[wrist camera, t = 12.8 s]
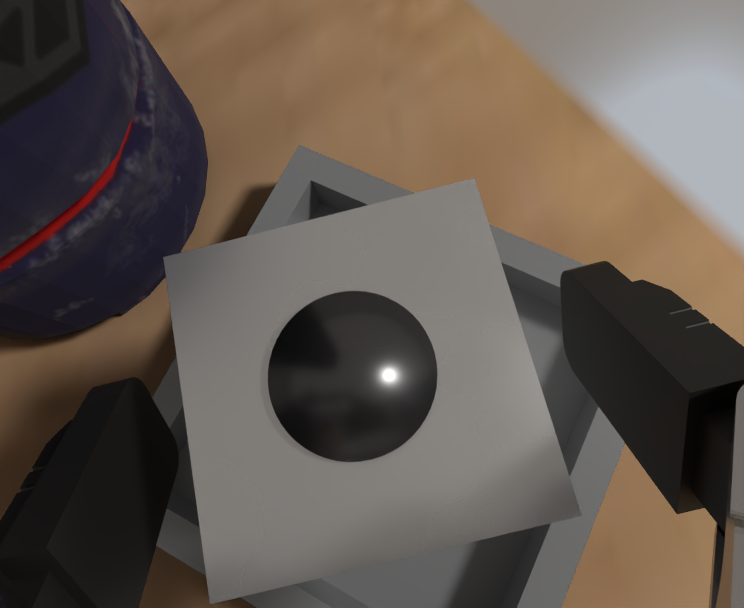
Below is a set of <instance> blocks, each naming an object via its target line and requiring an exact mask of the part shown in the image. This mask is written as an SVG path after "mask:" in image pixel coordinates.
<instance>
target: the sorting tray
mask: <svg viewBox="0 0 744 608" xmlns="http://www.w3.org/2000/svg"><path fill="white" fill-rule="evenodd" d="M410 194H414V193H413V192H410V191H408V190H406V189H403V188H401V187H398V186H396V185H394V184H391V183H389V182H386V181H384V180H382V179H379V178H377V177H375V176H372V175H370V174H367V173H365V172H363V171H360V170H358V169H355V168H353V167H351V166H348V165H346V164H343V163H341V162H339V161H336V160H334V159H331V158H329V157H327V156H324V155H322V154H320V153H317V152H315V151H312V150H310V149H308V148H305V147H303V146H300V145H299V146H298V148H297V150H296V151H295V153H294V155H293V156H292V158H291V160H290V162H289V163H288V165H287V167H286V169H285V170H284V172H283V174H282V175H281V177H280V179H279V181H278V182H277V184H276V186H275V187H274V189H273V191H272V193H271V194H270V196H269V198H268V199H267V201H266V203H265V205H264V206H263V208H262V210H261V211H260V213H259V215H258V217H257V218H256V220H255V222H254V223H253V225H252V227H251V229H250V230H249V232H248V234H247V235H246V236H249V235H253V234H257V233H261V232H265V231H269V230H272V229H276V228H280V227H284V226H288V225H292V224H296V223H300V222H304V221H308V220H312V219H316V218H320V217H324V216H328V215H332V214H336V213H339V212H343V211H347V210H351V209H355V208H359V207H363V206H367V205H371V204H375V203H379V202H383V201H387V200H391V199H395V198H399V197H403V196H406V195H410ZM489 226H490V229H491V232H492V235H493V238H494V242H495V245H496V248H497V251H498V254H499V257H500V260H501V263H502V267H503V270H504V273H505V276H506V279H507V282H508V285H509V289H510V292H511V295H512V298H513V301H514V304H515V307H516V311H517V314H518V317H519V320H520V323H521V326H522V329H523V332H524V336H525V339H526V342H527V345H528V348H529V351H530V354H531V358H532V361H533V364H534V367H535V370H536V373H537V376H538V380H539V383H540V386H541V389H542V392H543V395H544V398H545V401H546V405H547V408H548V411H549V414H550V417H551V420H552V423H553V427H554V430H555V433H556V436H557V439H558V442H559V445H560V449H561V452H562V455H563V458H564V461H565V464H566V467H567V470H568V474H569V477H570V480H571V483H572V486H573V489H574V492H575V496H576V499H577V502H578V505H579V508H580V511H581V514H582V516H579V517H575V518H571V519H567V520H563V521H558V522H554V523H550V524H546V525H542V526H537V527H533V528H529V529H525V530H520V531H516V532H512V533H508V534H504V535H499V536H495V537H491V538H487V539H483V540H478V541H474V542H470V543H466V544H462V545H457V546H453V547H449V548H445V549H441V550H436V551H432V552H428V553H424V554H420V555H415V556H411V557H407V558H403V559H399V560H394V561H390V562H386V563H382V564H377V565H373V566H369V567H365V568H361V569H356V570H352V571H348V572H344V573H340V574H335V575H331V576H327V577H323V578H319V579H314V580H310V581H306V582H302V583H298V584H293V585H289V586H285V587H281V588H277V589H272V590H268V591H264V592H260V593H256V594H251V595H247V596H243V597H240V598H241V599H243V600H245V601H246V602H248V603H249V604H251V605H253V606H254V607H256V608H561V606H562V603H563V601H564V598H565V596H566V593H567V591H568V588H569V585H570V583H571V580H572V578H573V575H574V573H575V570H576V567H577V565H578V562H579V560H580V557H581V555H582V552H583V549H584V547H585V544H586V542H587V539H588V537H589V534H590V531H591V529H592V526H593V524H594V521H595V519H596V516H597V514H598V511H599V508H600V506H601V503H602V501H603V498H604V496H605V493H606V490H607V488H608V485H609V483H610V480H611V478H612V475H613V472H614V470H615V467H616V465H617V462H618V460H619V457H620V455H621V452H622V449H623V447H624V444H625V442H624V441H623V439H622V438H621V437H620V435H619V434H618V432H617V431H616V430H615V428H614V427H613V426H612V424H611V423H610V421H609V420H608V419H607V417H606V416H605V415H604V413H603V412H602V411H601V409H600V408H599V406H598V405H597V404H596V402H595V401H594V400H593V398H592V397H591V395H590V394H589V393H588V391H587V390H586V389H585V387H584V386H583V384H582V383H581V382H580V380H579V379H578V378H577V376H576V375H575V373H574V372H573V370H572V368H571V366H570V364H569V362H568V359H567V356H566V353H565V349H564V344H563V330H562V310H561V291H560V278H561V274H562V272H563V271H566V270H570V269H574V268H578V267H582V266H586V265H585V264H583V263H580V262H578V261H575V260H573V259H571V258H568V257H566V256H563V255H561V254H559V253H556V252H554V251H551V250H549V249H547V248H544V247H542V246H540V245H537V244H535V243H532V242H530V241H528V240H525V239H523V238H520V237H518V236H516V235H513V234H511V233H508V232H506V231H504V230H501V229H499V228H496V227H494V226H492V225H489ZM152 399H153V400H154V402H155V404H156V406H157V407H158V409H159V411H160V413H161V414H162V416H163V418H164V420H165V421H166V423H167V425H168V427H169V428H170V430H171V432H172V434H173V436H174V438H175V440H176V444H177V448H178V454H179V464H178V470H177V474H176V477H175V481H174V484H173V488H172V491H171V495H170V498H169V502H168V505H167V509H166V513H165V516H164V520H163V523H162V527H161V530H160V534H159V537H158V541H157V544H156V546H157V547H159V548H161V549H162V550H164V551H166V552H167V553H169V554H170V555H172V556H174V557H175V558H177V559H178V560H180V561H182V562H183V563H185V564H187V565H188V566H190V567H191V568H193V569H195V570H196V571H198V572H199V573H201V574H203V575H204V576H206V570H205V563H204V556H203V548H202V541H201V533H200V526H199V518H198V511H197V504H196V496H195V489H194V481H193V474H192V466H191V459H190V452H189V444H188V437H187V429H186V422H185V414H184V407H183V400H182V392H181V385H180V377H179V370H178V362H177V356H176V357H175V359H174V361H173V363H172V364H171V366H170V368H169V369H168V371H167V373H166V375H165V376H164V378H163V380H162V381H161V383H160V385H159V387H158V388H157V390H156V392H155V393H154V395H153V397H152Z"/></svg>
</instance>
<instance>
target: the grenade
mask: <svg viewBox="0 0 744 608" xmlns="http://www.w3.org/2000/svg"><path fill="white" fill-rule="evenodd" d="M207 168H208V158H207V151H206V145H205V138H204V132H203V129H202V127H201V125H200V122H199V120H198V118H197V116H196V113H195V111H194V109H193V107H192V104H191V103H190V101H189V100H188V98H187V97H186V95H185V94H184V92H183V91H182V89H181V88H180V86H179V85H178V84H177V82H176V81H175V79H174V78H173V76H172V75H171V73H170V72H169V70H168V69H167V67H166V66H165V64H164V63H163V61H162V60H161V58H160V57H159V55H158V54H157V52H156V51H155V49H154V48H153V46H152V45H151V43H150V42H149V40H148V39H147V37H146V36H145V35H144V33H143V32H142V30H141V29H140V27H139V26H138V24H137V23H136V21H135V20H134V18H133V17H132V15H131V14H130V12H129V11H128V10H127V9H126V7H125V6H124V5H123V4H122V3H121V1H120V0H0V336H2V337H6V338H10V339H22V338H50V337H54V336H58V335H62V334H66V333H71V332H75V331H79V330H83V329H85V328H87V327H89V326H91V325H94V324H96V323H98V322H100V321H102V320H104V319H106V318H108V317H110V316H113V315H115V314H117V313H120V314H122V315H123V314H125V313H126V312H127V311H129V310H130V309H131V308H133V307H134V306H135V305H137V304H138V303H139V302H141V301H142V300H143V299H145V298H146V297H147V296H149V295H150V294H151V292H152V291H153V290H154V289H155V288H156V287H157V286H158V285H159V284H160V282H161V281H162V280H163V279H164V278H165V277H166V273H165V266H164V258H163V257H166V256H170V255H174V254H178V253H180V252H181V250H182V248H183V246H184V245H185V243H186V241H187V240H188V238H189V236H190V235H191V233H192V231H193V229H194V227H195V224H196V221H197V218H198V215H199V212H200V208H201V205H202V202H203V199H204V196H205V189H206V178H207Z"/></svg>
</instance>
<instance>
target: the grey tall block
mask: <svg viewBox="0 0 744 608" xmlns="http://www.w3.org/2000/svg"><path fill="white" fill-rule="evenodd" d="M163 258H164V266H165V273H166V281H167V288H168V296H169V303H170V310H171V318H172V325H173V333H174V340H175V348H176V355H177V362H178V370H179V377H180V385H181V392H182V400H183V407H184V414H185V422H186V429H187V437H188V444H189V452H190V459H191V466H192V474H193V481H194V489H195V496H196V504H197V511H198V518H199V526H200V533H201V541H202V548H203V556H204V563H205V570H206V578H207V585H208V593H209V600H210V604H213V603H218V602H222V601H226V600H230V599H234V598H239V597H243V596H247V595H251V594H256V593H260V592H264V591H268V590H272V589H277V588H281V587H285V586H289V585H293V584H298V583H302V582H306V581H310V580H314V579H319V578H323V577H327V576H331V575H335V574H340V573H344V572H348V571H352V570H356V569H361V568H365V567H369V566H373V565H377V564H382V563H386V562H390V561H394V560H399V559H403V558H407V557H411V556H415V555H420V554H424V553H428V552H432V551H436V550H441V549H445V548H449V547H453V546H457V545H462V544H466V543H470V542H474V541H478V540H483V539H487V538H491V537H495V536H499V535H504V534H508V533H512V532H516V531H520V530H525V529H529V528H533V527H537V526H542V525H546V524H550V523H554V522H558V521H563V520H567V519H571V518H575V517H579V516H582V514H581V511H580V508H579V505H578V502H577V499H576V496H575V492H574V489H573V486H572V483H571V480H570V477H569V474H568V470H567V467H566V464H565V461H564V458H563V455H562V452H561V449H560V445H559V442H558V439H557V436H556V433H555V430H554V427H553V423H552V420H551V417H550V414H549V411H548V408H547V405H546V401H545V398H544V395H543V392H542V389H541V386H540V383H539V380H538V376H537V373H536V370H535V367H534V364H533V361H532V358H531V354H530V351H529V348H528V345H527V342H526V339H525V336H524V332H523V329H522V326H521V323H520V320H519V317H518V314H517V311H516V307H515V304H514V301H513V298H512V295H511V292H510V289H509V285H508V282H507V279H506V276H505V273H504V270H503V267H502V263H501V260H500V257H499V254H498V251H497V248H496V245H495V242H494V238H493V235H492V232H491V229H490V226H489V223H488V220H487V216H486V213H485V210H484V207H483V204H482V201H481V198H480V194H479V191H478V188H477V185H476V182H475V179H474V178H473V179H470V180H466V181H462V182H458V183H454V184H450V185H446V186H442V187H438V188H434V189H430V190H426V191H422V192H418V193H414V194H410V195H406V196H403V197H399V198H395V199H391V200H387V201H383V202H379V203H375V204H371V205H367V206H363V207H359V208H355V209H351V210H347V211H343V212H339V213H336V214H332V215H328V216H324V217H320V218H316V219H312V220H308V221H304V222H300V223H296V224H292V225H288V226H284V227H280V228H276V229H272V230H269V231H265V232H261V233H257V234H253V235H249V236H245V237H241V238H237V239H233V240H229V241H225V242H221V243H217V244H213V245H209V246H205V247H202V248H198V249H194V250H190V251H186V252H182V253H178V254H174V255H170V256H166V257H163Z"/></svg>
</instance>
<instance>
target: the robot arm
mask: <svg viewBox="0 0 744 608" xmlns="http://www.w3.org/2000/svg"><path fill="white" fill-rule="evenodd" d="M560 291H561V310H562V330H563V344H564V349H565V353H566V356H567V359H568V362H569V364H570V366H571V368H572V370H573V372H574V373H575V375H576V376H577V378H578V379H579V380H580V382H581V383H582V384H583V386H584V387H585V389H586V390H587V391H588V393H589V394H590V395H591V397H592V398H593V400H594V401H595V402H596V404H597V405H598V406H599V408H600V409H601V411H602V412H603V413H604V415H605V416H606V417H607V419H608V420H609V421H610V423H611V424H612V426H613V427H614V428H615V430H616V431H617V432H618V434H619V435H620V437H621V438H622V439H623V441H624V442H625V443H626V445H627V446H628V448H629V449H630V450H631V452H632V453H633V454H634V456H635V457H636V459H637V460H638V461H639V463H640V464H641V465H642V467H643V468H644V469H645V471H646V472H647V474H648V475H649V476H650V478H651V479H652V480H653V482H654V483H655V485H656V486H657V487H658V489H659V490H660V491H661V493H662V494H663V496H664V497H665V498H666V500H667V501H668V502H669V504H670V505H671V507H672V508H673V509H674V511H675V512H676V513H677V514H680V513H684V512H688V511H693V510H697V509H701V508H706V510H707V511H708V512H709V513H710V515H711V516H712V517H713V518H714V520H715V521H716V528H715V534H714V546H713V559H712V572H711V585H710V598H709V608H744V347H743V346H742V345H741V344H739V343H738V342H737V341H736V340H734V339H733V338H732V337H730V336H729V335H728V334H727V333H725V332H724V331H723V330H721V329H720V328H719V327H718V326H716V325H715V324H714V323H712V324H710V323H709V319H707V318H706V317H705V316H703V315H702V314H701V313H699V312H698V311H697V310H696V309H695V310H692V307H691V306H690V305H689V304H688V303H687V302H685V301H684V300H683V299H681V298H680V297H679V296H678V295H676V294H675V293H674V292H672V291H671V290H669V289H666V288H663V287H661V286H658V285H655V284H653V283H650V282H647V281H644V280H638V281H634V282H632V281H630V280H629V279H628V278H627V277H626V276H624V275H623V274H622V273H621V272H620V271H619V270H617V269H616V268H615V267H614V266H613V265H611V264H610V263H609V262H607V261H602V262H598V263H594V264H590V265H586V266H582V267H578V268H574V269H570V270H566V271H563V272H562V274H561V278H560ZM178 464H179V454H178V448H177V444H176V440H175V438H174V436H173V434H172V432H171V430H170V428H169V427H168V425H167V423H166V421H165V420H164V418H163V416H162V414H161V413H160V411H159V409H158V407H157V406H156V404H155V402H154V400H153V399H152V397H151V395H150V393H149V391H148V390H147V388H146V386H145V385H144V383H143V382H142V381H141V380H139V379H138V378H129V379H125V380H121V381H117V382H113V383H109V384H105V385H101V386H97V387H94V388H92V389H91V390H90V391H89V393H88V394H87V396H86V398H85V400H84V401H83V403H82V405H81V407H80V408H79V410H78V412H77V414H76V415H75V417H74V419H73V420H71V421H69V422H68V423H67V424H66V425H65V426H64V427H63V428H62V429H61V430H60V431H59V432H58V433H57V434H56V435H55V436H54V437H53V438H52V439H51V440H50V441H49V442H48V443H47V444H46V446H45V448H44V449H43V451H42V452H41V454H40V456H39V457H38V459H37V461H36V462H35V464H34V466H33V467H32V468H33V472H30V473H29V474H28V476H27V477H26V479H25V481H24V482H23V484H22V486H21V487H20V489H21V492H20V493H17V494H16V496H15V497H14V499H13V501H12V502H11V504H10V506H9V507H8V509H7V511H6V512H5V514H4V516H3V517H2V519H1V521H0V608H138V607H139V604H140V600H141V597H142V593H143V590H144V586H145V583H146V579H147V576H148V572H149V569H150V565H151V562H152V558H153V555H154V551H155V548H156V544H157V541H158V537H159V534H160V530H161V527H162V523H163V520H164V516H165V513H166V509H167V505H168V502H169V498H170V495H171V491H172V488H173V484H174V481H175V477H176V474H177V470H178Z"/></svg>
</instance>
